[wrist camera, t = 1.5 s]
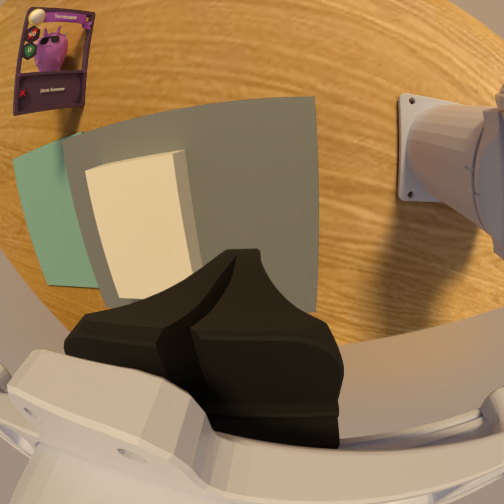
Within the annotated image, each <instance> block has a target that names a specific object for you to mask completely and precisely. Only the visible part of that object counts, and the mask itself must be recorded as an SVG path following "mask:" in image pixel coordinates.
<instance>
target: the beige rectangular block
mask: <svg viewBox="0 0 504 504" xmlns="http://www.w3.org/2000/svg"><path fill="white" fill-rule="evenodd" d="M85 174H86V179H87V184H88V189H89V194H90V198H91V203H92V207H93V211H94V216H95V220H96V224H97V228H98V231H99V235H100V239H101V242H102V246H103V249H104V253H105V256H106V259H107V263H108V266H109V269H110V272H111V275H112V278H113V281H114V284H115V287H116V290H117V293H118V296H119V298H131V299H145V298H147V297H150V296H152V295H155V294H157V293H159V292H162V291H164V290H166V289H168V288H170V287H172V286H174V285H175V284H177V283H179V282H181V281H182V280H184V279H186V278H187V277H189V276H190V275H191V274H193V273H194V272H196V271H197V270H199V269H200V268H202V267H203V266H202V260H201V255H200V249H199V243H198V237H197V231H196V225H195V218H194V212H193V205H192V199H191V192H190V185H189V177H188V170H187V162H186V154H185V150H180V151H173V152H166V153H160V154H154V155H148V156H142V157H137V158H132V159H126V160H122V161H117V162H112V163H107V164H103V165H100V166H97V167H94V168H92V169H89V170H86V171H85Z"/></svg>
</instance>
